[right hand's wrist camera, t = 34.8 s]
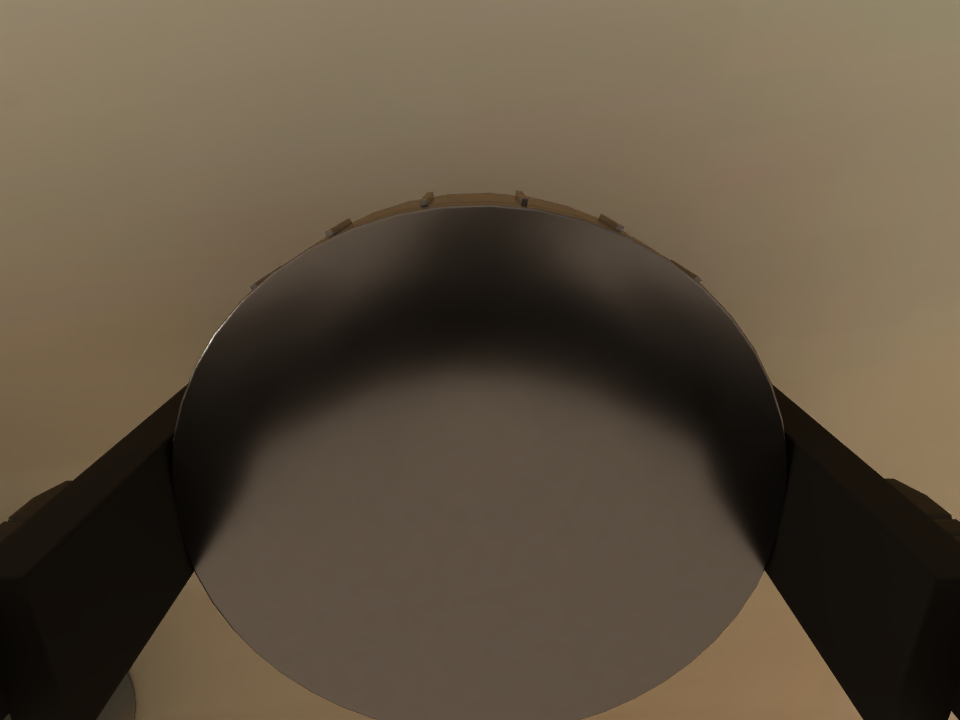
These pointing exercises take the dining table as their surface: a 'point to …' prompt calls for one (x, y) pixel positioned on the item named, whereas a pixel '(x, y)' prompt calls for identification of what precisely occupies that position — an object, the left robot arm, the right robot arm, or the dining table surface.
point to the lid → (479, 464)
